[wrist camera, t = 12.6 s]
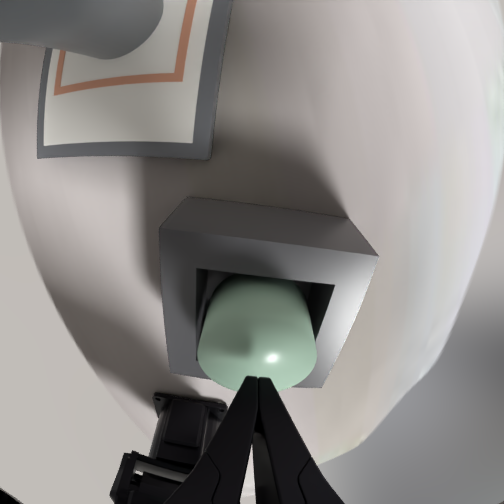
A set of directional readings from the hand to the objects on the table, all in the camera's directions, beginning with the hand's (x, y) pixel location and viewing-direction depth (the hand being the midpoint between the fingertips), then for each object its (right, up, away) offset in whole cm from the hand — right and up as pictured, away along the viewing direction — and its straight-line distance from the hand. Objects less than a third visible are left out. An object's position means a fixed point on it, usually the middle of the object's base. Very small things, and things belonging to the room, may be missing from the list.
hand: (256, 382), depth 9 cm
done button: (0, +2, +4) cm, 4 cm away
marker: (-6, +15, -1) cm, 16 cm away
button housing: (0, +3, +6) cm, 7 cm away
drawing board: (-6, +16, 0) cm, 17 cm away
